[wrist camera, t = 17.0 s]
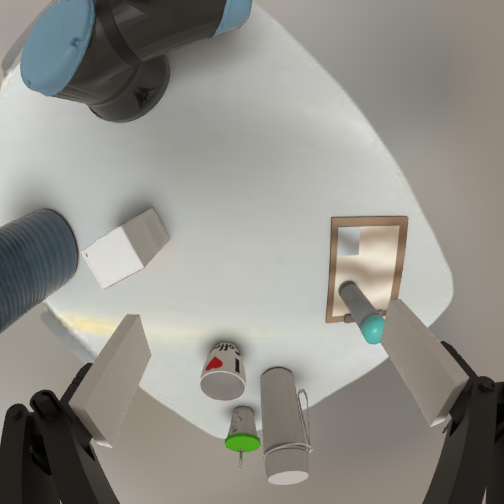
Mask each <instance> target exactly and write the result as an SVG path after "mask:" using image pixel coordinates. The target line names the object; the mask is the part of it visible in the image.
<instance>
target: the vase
mask: <svg viewBox="0 0 504 504" xmlns="http://www.w3.org/2000/svg"><path fill="white" fill-rule="evenodd" d="M76 265H77V250H76V245H75V241H74V238H73V235H72V233H71V231H70V229H69V227H68V226H67V224H66V223H65V221H64V220H63V219H62V218H61V217H60V216H59V215H57V214H56V213H54V212H52V211H50V210H45V209H42V210H37V211H35V212H32V213H30V214H28V215H25V216H23V217H21V218H18V219H16V220H14V221H12V222H9V223H7V224H5V225H4V226H2V227H0V334H1V333H2V332H4V331H5V330H6V329H7V328H8V327H9V326H11V325H12V324H13V323H14V322H16V321H17V320H18V319H19V318H20V317H22V316H23V315H24V314H25V313H27V312H28V311H30V310H31V309H32V308H33V307H34V306H36V305H37V304H39V303H41V302H42V301H43V300H44V299H46V298H47V297H48V296H50V295H51V294H53V293H54V292H55V291H57V290H58V289H59V288H61V287H62V286H63V285H65V284H66V283H68V282H69V281H70V279H71V278H72V277H73V275H74V272H75V269H76Z"/></svg>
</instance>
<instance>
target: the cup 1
mask: <svg viewBox="0 0 504 504" xmlns="http://www.w3.org/2000/svg"><path fill="white" fill-rule="evenodd" d="M199 388H200V390H201V391H202V393H203V394H204V395H206V396H207V397H209V398H211V399H213V400H217V401H223V402H227V401H233V400H236V399H239V398H240V397H242V396H243V395H244V393H245V391H246V379H245V369H244V365H243V360H242V357H241V354H240V352H239V350H238V348H237V347H236V346H235V345H234V344H232V343H228V342H223V343H219V344H217V345H216V346H215V347H214V349H213V350H212V351H211V353H210V354H209V356H208V358H207V360H206V363H205V365H204V367H203V371H202V374H201V378H200V381H199Z"/></svg>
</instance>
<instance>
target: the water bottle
mask: <svg viewBox="0 0 504 504" xmlns="http://www.w3.org/2000/svg"><path fill="white" fill-rule="evenodd" d="M260 385H261V406H262V427H263V447H264V463H265V469H266V474H267V480H268V481H269V482H270V483H272V484H278V485H288V484H293V483H298V482H301V481H303V480H305V479H307V477H308V476H309V462H308V454H309V453H310V452H312V450H313V448H312V446H311V444H310V441H308V444H306V443H305V439H304V433H303V427H302V422H301V416H300V411H299V406H300V410H301V414H302V418H303V422H304V417H303V413H302V408H301V404H300V399H299V394H300V393H302V392H304V394H305V396H306V399H307V411H308V398H307V395H306V392H305V390H304V389H302V390H299V392H298V399H297V394H296V388H295V383H294V378H293V376H292V374H291V372H289V371H287V370H285V369H282V368H274V369H271V370H268V371H267V372H266V373H265V374H264V375H262V377H261V381H260ZM298 401H299V405H298ZM308 421H309V418H308ZM304 427H305V422H304ZM308 427H309V422H308ZM308 430H309V428H308ZM305 431H306V427H305ZM306 436H307V431H306ZM307 440H308V436H307ZM306 446H308V448H309V452H308V453H307V451H306Z"/></svg>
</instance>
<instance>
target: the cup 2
mask: <svg viewBox="0 0 504 504" xmlns="http://www.w3.org/2000/svg"><path fill="white" fill-rule="evenodd" d="M225 444H226V447H227V448H229V449H231V450H233V451H238V452H240V461H239V468H241V465H242V452H250V451H253V450H256V449H257V448H258V447H259V446H260V439H259V438H258V437H257V432H256V427H255V422H254V417H253V412H252V409H251V408H249V407H246V406H239V407H237V408H235V410H234V412H233V416H232V421H231V425H230V429H229V433H228V437H227V438H226V439H225Z"/></svg>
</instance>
